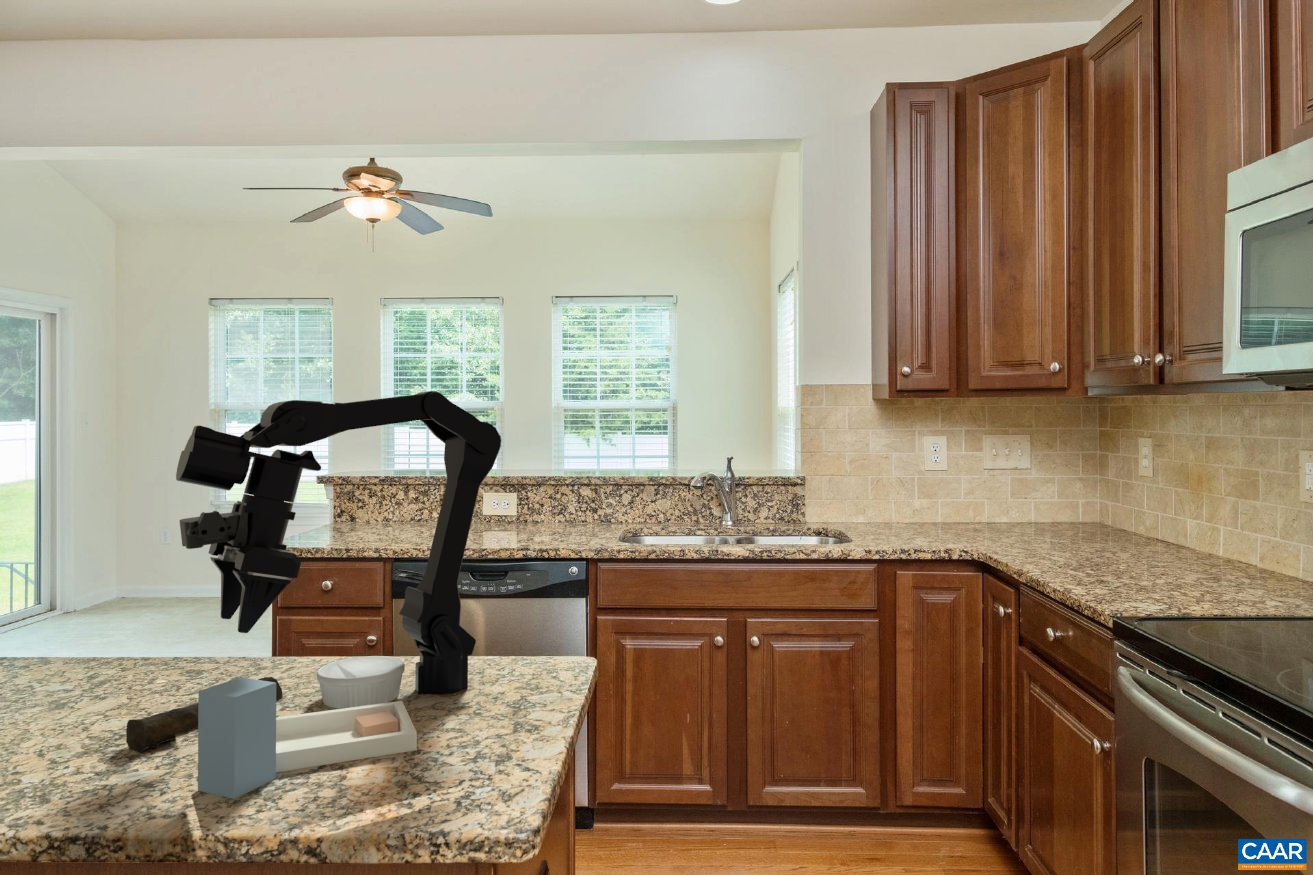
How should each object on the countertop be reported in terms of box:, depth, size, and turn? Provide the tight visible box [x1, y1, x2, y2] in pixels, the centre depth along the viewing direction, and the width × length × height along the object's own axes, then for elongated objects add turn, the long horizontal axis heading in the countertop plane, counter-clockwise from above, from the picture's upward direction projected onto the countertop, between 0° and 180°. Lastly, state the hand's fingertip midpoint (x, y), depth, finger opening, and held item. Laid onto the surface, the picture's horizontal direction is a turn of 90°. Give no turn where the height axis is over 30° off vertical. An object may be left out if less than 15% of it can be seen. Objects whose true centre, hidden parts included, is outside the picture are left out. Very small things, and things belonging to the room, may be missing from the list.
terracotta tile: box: [355, 711, 398, 737], centre depth 96 cm, size 4×4×2 cm
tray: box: [276, 700, 418, 774], centre depth 92 cm, size 16×12×3 cm
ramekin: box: [316, 655, 406, 709], centre depth 108 cm, size 11×11×5 cm
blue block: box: [197, 676, 277, 800], centre depth 81 cm, size 5×5×11 cm
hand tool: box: [125, 676, 283, 753], centre depth 99 cm, size 19×4×5 cm, turn 147°
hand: (233, 625), depth 95 cm, fingers open, 9 cm apart
